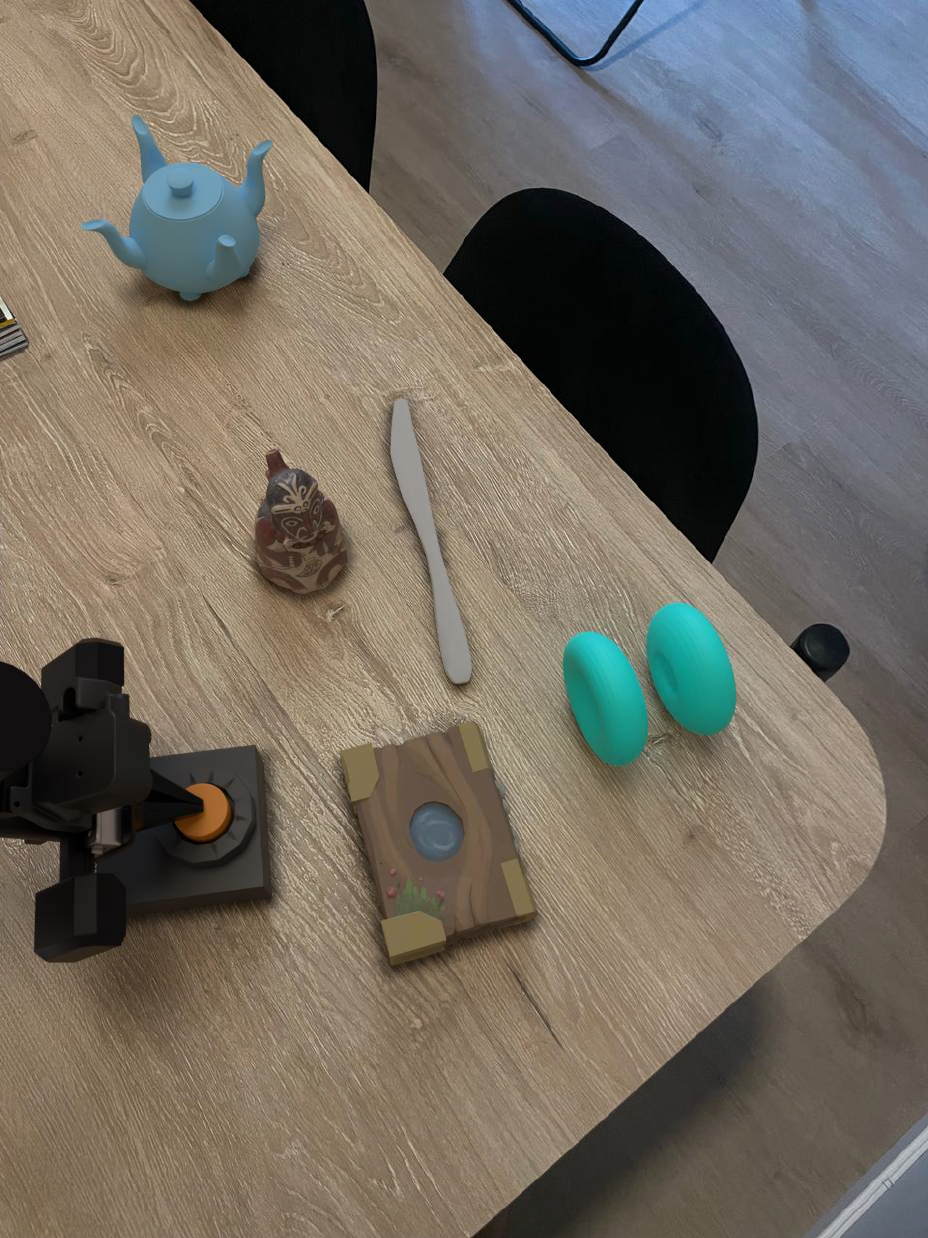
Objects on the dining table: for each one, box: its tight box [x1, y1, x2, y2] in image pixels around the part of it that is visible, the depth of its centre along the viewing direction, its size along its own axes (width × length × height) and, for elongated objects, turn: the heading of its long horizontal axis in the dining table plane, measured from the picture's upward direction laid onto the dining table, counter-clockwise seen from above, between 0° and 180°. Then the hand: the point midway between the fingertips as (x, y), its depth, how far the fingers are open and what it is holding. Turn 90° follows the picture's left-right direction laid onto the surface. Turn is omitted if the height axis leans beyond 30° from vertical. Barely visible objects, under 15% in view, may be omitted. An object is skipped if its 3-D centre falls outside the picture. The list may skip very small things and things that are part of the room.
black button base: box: [95, 744, 273, 918], centre depth 74 cm, size 11×10×6 cm
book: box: [339, 720, 539, 967], centre depth 75 cm, size 15×11×5 cm
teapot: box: [80, 114, 274, 302], centre depth 95 cm, size 13×13×10 cm
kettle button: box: [175, 783, 233, 844], centre depth 72 cm, size 4×4×2 cm
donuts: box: [562, 602, 737, 767], centre depth 78 cm, size 10×10×10 cm
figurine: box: [253, 447, 348, 595], centre depth 82 cm, size 7×7×12 cm
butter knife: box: [389, 397, 473, 685], centre depth 88 cm, size 1×27×3 cm
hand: (200, 808), depth 71 cm, fingers closed, pressing on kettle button
